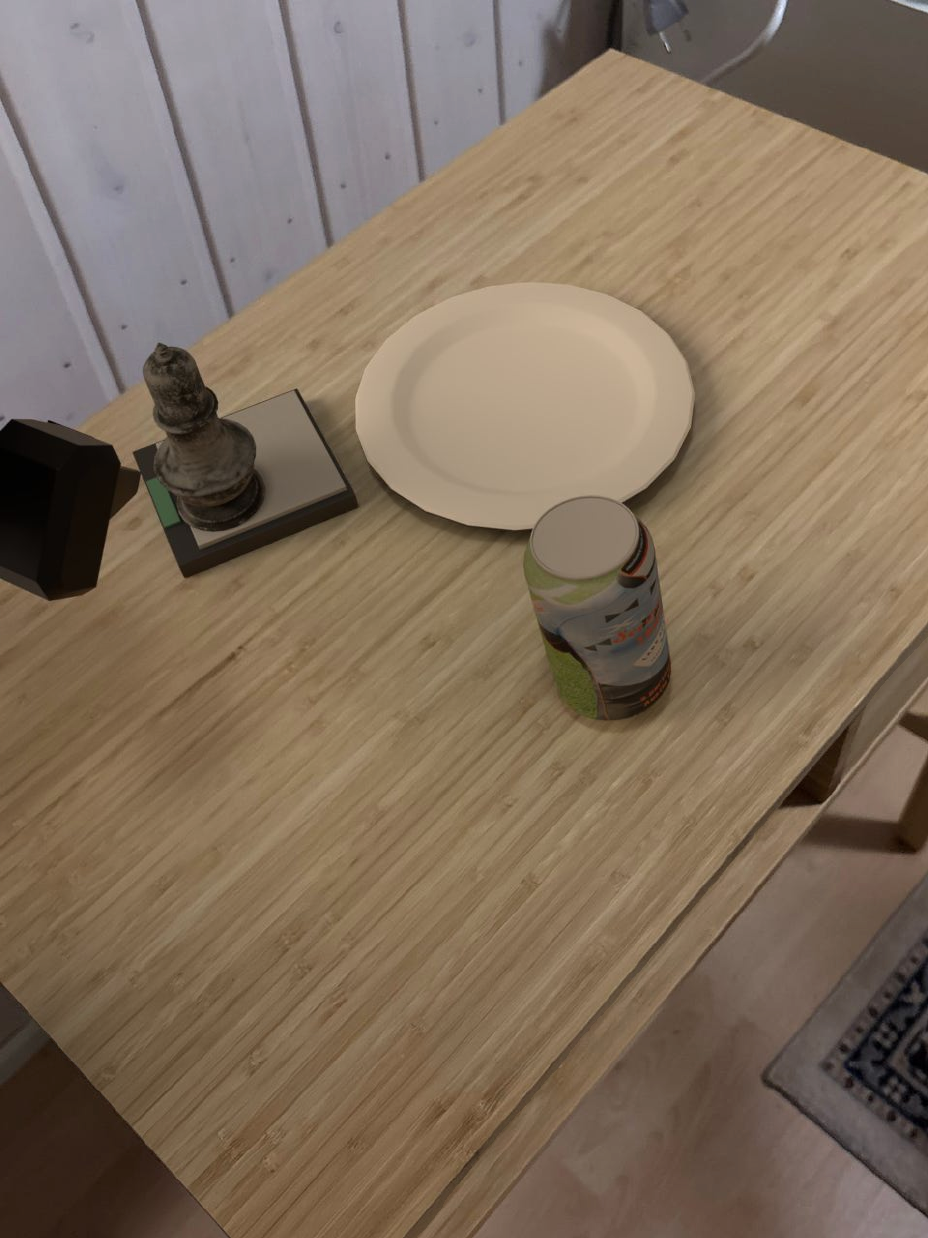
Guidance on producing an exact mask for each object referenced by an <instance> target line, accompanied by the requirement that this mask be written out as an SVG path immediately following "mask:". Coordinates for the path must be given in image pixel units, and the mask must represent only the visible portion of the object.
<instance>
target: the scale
mask: <svg viewBox="0 0 928 1238" xmlns="http://www.w3.org/2000/svg"><path fill="white" fill-rule="evenodd" d="M220 418H224V419H229V420H232V421H235V422H238V423H240V424H241V425H243V426H244V427H246V428H247V429H248V430H249V432H250V433H251V434H252V435H253V437H254V440H255V443H256V458H255V461H254V469H255V470H257V471H258V473H259V474H260V475H261V477H262V478H263V481H264V484H265V497H264V500H263V503H262V505H261V507H260V508H259V509H258V511H257V512H256V514H254V515H253V516H252V517H251V518H250V519H249V520H248V521H246V522H244V523H242V524H241V525H239V526H237V527H234V528H231V529H228V530H225V531H216V532H211V531H202V530H199V529H196V528H193V527H191V526H190V525H189V524H187V523H186V522H184V520H183V519H182V517H181V516H180V514H179V512H178V508H177V496H176V495H174V494H173V493H172V492H170V491H169V490H167V489H166V488H165V487H163V486H162V485H161V483H160V482H159V481H158V479H157V478H156V475H155V471H154V467H153V466H154V457H155V455H156V452H157V450H158V448H159V446H160V445H161V444H162V442H163V441H164V440H165V439H166V438H164V439H162V440H159V441H157V442H154V443H152V444H149V445H146V446H144V447H142V448H139V449H136V450H133V451H132V455H133V458H134V460H135V463H136V465H137V467H138V471H140V473H141V478H142V480H143V482H144V485H145V488H146V490H147V492H148V494H149V497H150V499H151V502H152V505H153V507H154V510H155V513H156V515H157V517H158V520H159V522H160V525H161V527H162V530H163V532H164V534H165V537H166V539H167V542H168V545H169V547H170V549H171V552H172V554H173V557H174V559H175V562H176V564H177V567H178V568H179V570H180V573H181V574H182V577H183V578H184V579H186V578H188V577H191V576H192V575H195V574H198V573H201V572H203V571H206V570H207V569H210V568H213V567H215V566H217V565H220V564H222V563H224V562H227V561H229V560H232V559H235V558H237V557H240V556H242V555H245V554H246V553H249V552H251V551H254V550H257V549H259V548H262V547H263V546H266V545H269V544H272V543H273V542H276V541H279V540H281V539H283V538H286V537H288V536H290V535H294V534H295V533H296V534H297V533H298V532H300V531H303V530H305V529H307V528H311V527H312V526H315V525H317V524H319V523H323V522H324V521H327V520H330V519H332V518H335V517H337V516H339V515H342V514H343V513H344V514H345V513H346V512H350V511H352V510H354V509H356V508H358V507H359V504H358V501H357V496H356V493H355V491H354V490H353V488H352V486H351V484H350V482H349V480H348V479H347V477H346V475H345V473H344V471H343V469H342V468H341V465H340V463H339V462H338V460H337V459H336V457H335V455H334V453H333V451H332V449H331V447H330V446H329V443H328V442H327V440H326V439H325V436H324V435H323V433H322V431H321V429H320V427H319V425H318V424H317V422H316V420H315V418H314V417H313V415H312V413H311V411H310V409H309V407H308V405H307V403H306V402H305V400H304V398H303V396H302V394H301V393H300V391H299V389H298V387H297V388H294V389H291V390H289V391H286V392H283V393H281V394H278V395H276V396H273V397H270V398H267V399H265V400H262V401H260V402H258V403H255V404H253V405H250V406H247V407H245V408H242V409H240V410H237V411H234V412H232V413H229V414H226V415H224V416H221V417H220Z"/></svg>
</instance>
